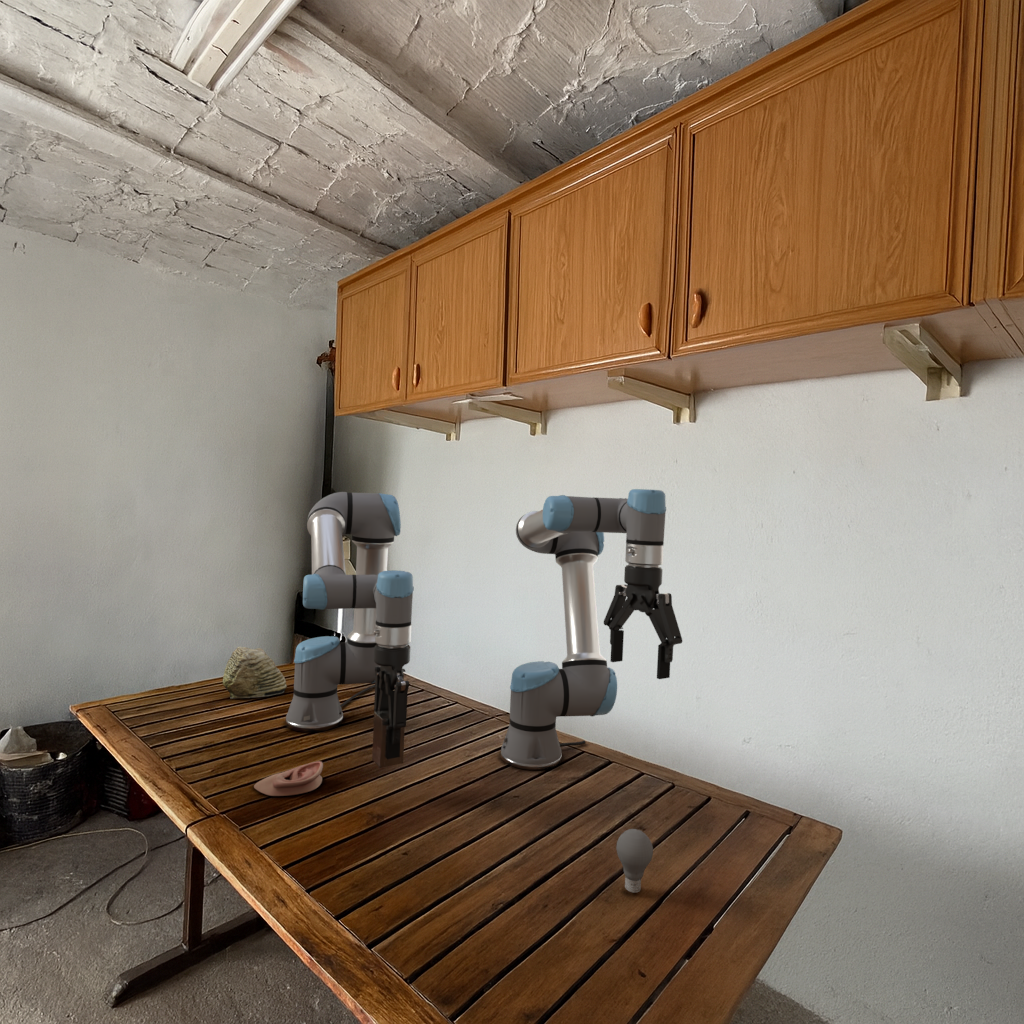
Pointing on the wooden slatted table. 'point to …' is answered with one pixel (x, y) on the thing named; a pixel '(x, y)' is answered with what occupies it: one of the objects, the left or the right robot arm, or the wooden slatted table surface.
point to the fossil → (252, 674)
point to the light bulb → (634, 857)
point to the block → (384, 741)
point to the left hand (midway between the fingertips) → (388, 752)
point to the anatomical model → (292, 781)
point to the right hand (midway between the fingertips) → (638, 669)
